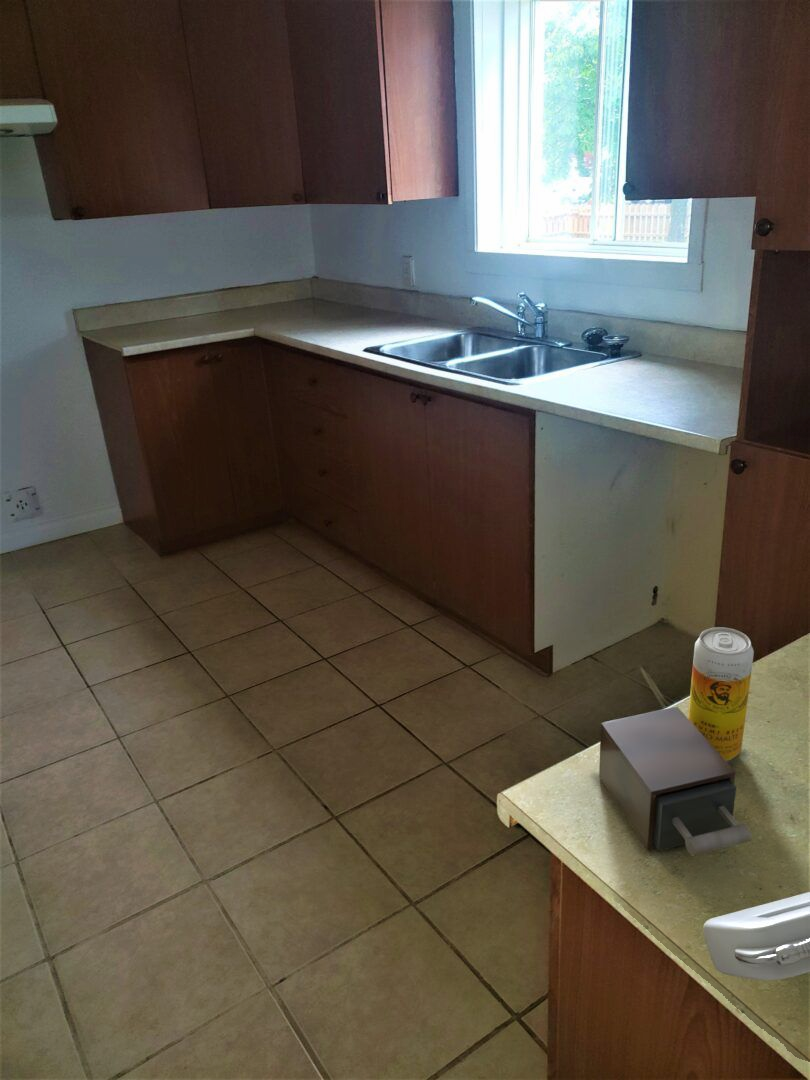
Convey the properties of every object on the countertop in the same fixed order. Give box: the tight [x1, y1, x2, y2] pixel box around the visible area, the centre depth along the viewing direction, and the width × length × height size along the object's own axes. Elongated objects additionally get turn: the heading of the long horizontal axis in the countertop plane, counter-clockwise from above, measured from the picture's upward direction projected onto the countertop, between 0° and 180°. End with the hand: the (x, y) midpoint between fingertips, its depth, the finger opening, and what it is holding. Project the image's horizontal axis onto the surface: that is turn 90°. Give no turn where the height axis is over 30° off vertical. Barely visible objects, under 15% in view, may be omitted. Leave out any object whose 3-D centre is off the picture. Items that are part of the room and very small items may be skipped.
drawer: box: [653, 780, 752, 856], centre depth 84 cm, size 15×8×6 cm, turn 13°
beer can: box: [687, 626, 755, 762], centre depth 92 cm, size 6×6×15 cm
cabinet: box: [598, 706, 737, 850], centre depth 87 cm, size 11×9×8 cm
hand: (787, 909), depth 68 cm, fingers closed
